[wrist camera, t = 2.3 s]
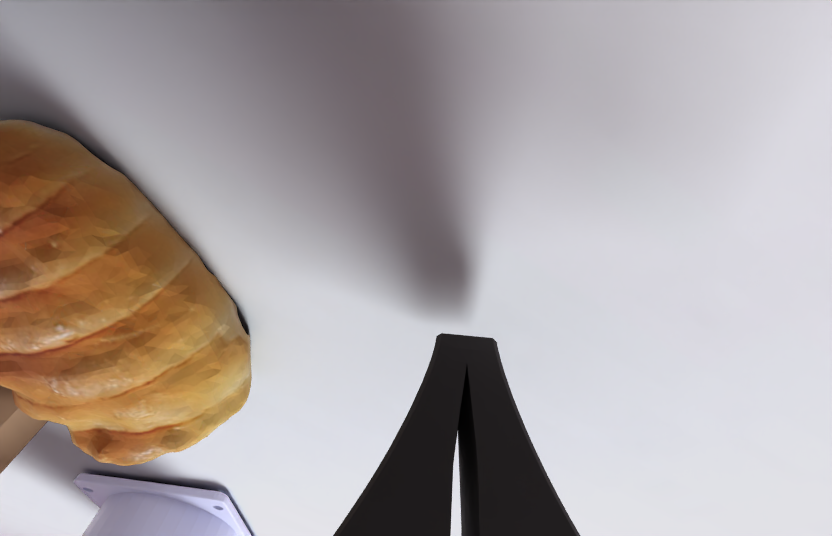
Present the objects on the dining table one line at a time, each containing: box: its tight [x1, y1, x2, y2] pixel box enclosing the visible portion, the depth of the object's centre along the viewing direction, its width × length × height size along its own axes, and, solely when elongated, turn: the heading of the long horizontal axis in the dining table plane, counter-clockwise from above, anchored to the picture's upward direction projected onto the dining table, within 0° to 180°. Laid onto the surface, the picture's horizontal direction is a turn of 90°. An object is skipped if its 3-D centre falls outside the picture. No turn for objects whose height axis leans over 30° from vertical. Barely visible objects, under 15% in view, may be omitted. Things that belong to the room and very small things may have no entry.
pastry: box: [0, 120, 251, 466], centre depth 11 cm, size 9×7×4 cm
